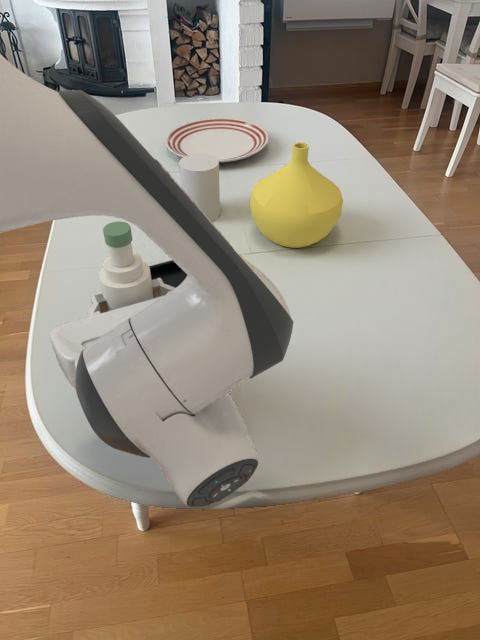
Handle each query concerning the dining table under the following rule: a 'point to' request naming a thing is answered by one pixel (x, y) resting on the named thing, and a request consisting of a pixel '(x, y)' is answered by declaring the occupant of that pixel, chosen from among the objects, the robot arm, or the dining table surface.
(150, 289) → the bottle
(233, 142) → the dinner plate
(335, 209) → the vase
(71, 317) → the dining table surface
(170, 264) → the black square tray
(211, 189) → the white cylinder
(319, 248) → the dining table surface
